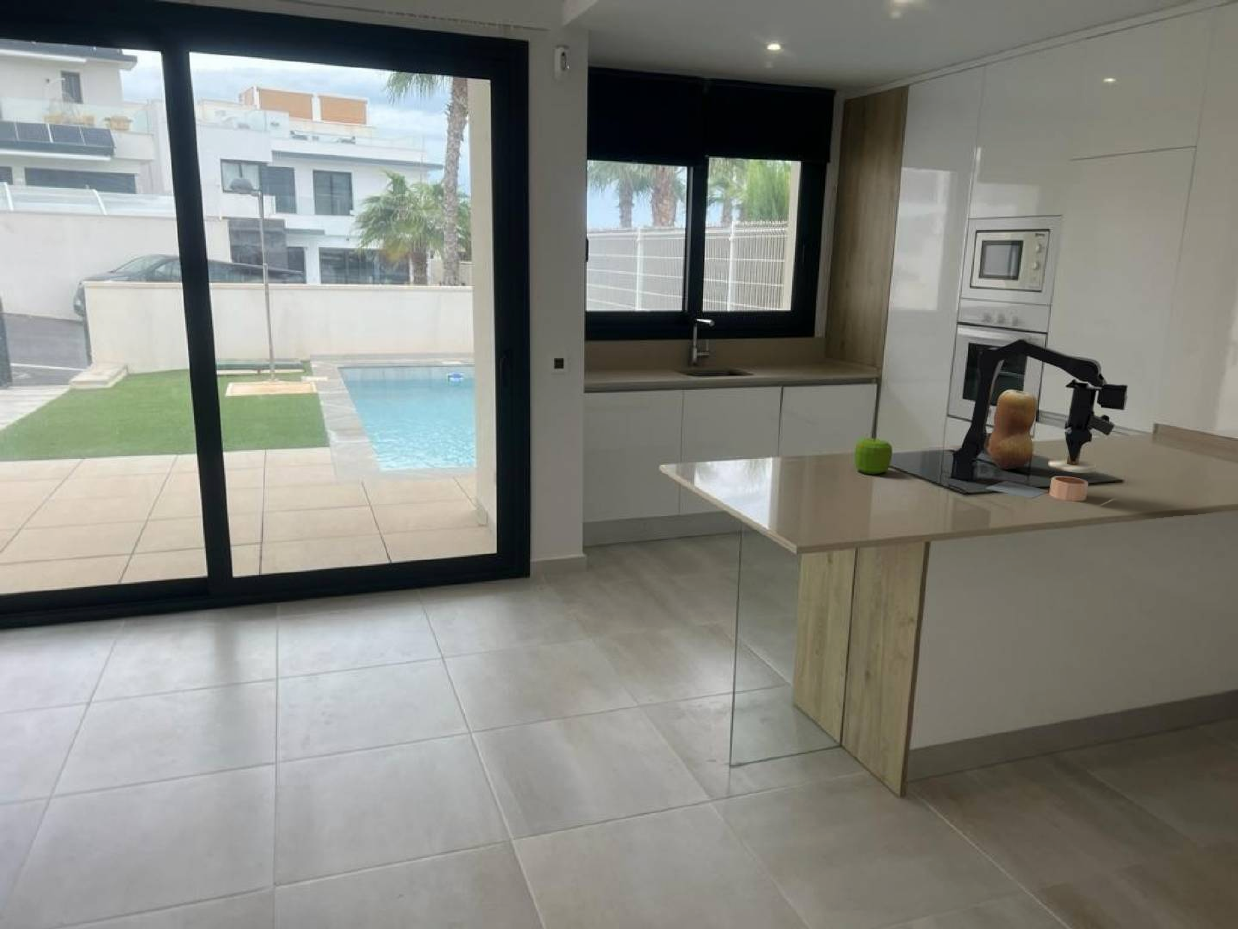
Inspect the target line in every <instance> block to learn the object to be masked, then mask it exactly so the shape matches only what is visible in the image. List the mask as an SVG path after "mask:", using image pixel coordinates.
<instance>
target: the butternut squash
mask: <svg viewBox="0 0 1238 929" xmlns="http://www.w3.org/2000/svg"><path fill="white" fill-rule="evenodd" d="M1037 406H1038V400H1037V398H1036V396H1035V395H1033V394H1032V393H1031V392H1027V391H1023V390H1021V391H1020V390H1017V389H1016V390H1015V389H1007V390H1005V391H1003V392H1002V393H1001V394H1000V395H999V397H998V399H997V404H996V407H995V410H994V412H993V413H994V415H993V428H992V431H991V432H990V433H991V437H990V439H989V445H990V446H989V447H987V448H986V450H987V453H988V455H989V456H990V458H991V460H992V461H993V463H994V464H995V465H996V467H997V468H998V469H1000V470H1005V471H1009V470H1015V469H1017V468H1020V467H1022V466H1025V465H1026V464H1028V463H1029V462H1030V460H1031V459H1032V457H1033V452H1034V451H1033V450H1034V446H1033V440H1032V437H1031V429H1032V427H1033V425H1034V422H1035V420H1036V417H1037V416H1036V415H1037V410H1038V409H1037V408H1038V407H1037Z"/></svg>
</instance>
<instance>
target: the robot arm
mask: <svg viewBox="0 0 1238 929" xmlns="http://www.w3.org/2000/svg"><path fill="white" fill-rule="evenodd" d="M1019 354H1021V355H1023V356H1026V357H1029V358H1032V359H1034V360H1037V361H1039V362H1043V363H1045V364H1047V365H1050V366H1053V367H1056V368H1058V369H1061V370H1063V371H1064V372H1066V373H1067V374H1068V375H1070V376H1072V377H1073V379H1072V380H1071V381H1070V382H1069V383H1067V384H1066V385H1065V388H1067V389H1068V388H1069V389H1072V395H1071V399H1070V400H1071V402H1070V405H1069V409H1068V410H1069V413H1068V417H1067V420H1066V421H1064V427H1063V428H1064V430H1066V431H1064V438H1065V442H1066V445H1067V446H1066V447H1067V449H1068V451H1069V455H1070V459H1071V461H1072V462H1075V461H1076V459H1077V457H1078V454H1079V452H1080V450H1081V449H1082V448H1083V445H1085V444H1087V443H1092V439H1093V434H1092V430H1093V429H1094V430H1096V431H1098V432H1099V433H1102V434H1103V435H1105V436H1107V437H1109V436H1110V434H1111V433H1112V431H1113V429H1114V427H1115V423H1113V422H1112V421H1110V416H1109V415H1106V414H1102V415H1101V416H1099V415H1095V410H1094V407H1095V401H1096V404H1098V405H1099V406H1100V408H1101V409H1102V408H1103V409H1111V410H1116V411H1117V410H1118V411H1125V408H1126V404H1127V401H1128V395H1127V394H1128V386H1129V385H1128V384H1114V383H1107V381H1106V378H1104V375H1103V374H1102V373H1101V372H1102V367H1101V364H1100V362H1099V361H1097V360H1095V359H1092V358H1088V357H1087V358H1086V357H1082V356H1076V355H1075V356H1074V355H1068V354H1066V353H1063V352H1060V351H1057V350H1055V349H1052V348H1049V347H1046V346H1044V345H1040V344H1038V343H1035V342H1033V341H1030V340H1028V339H1026V338H1019V339H1016V340H1014V341H1013V342H1010V343H1008V344H1006V345H1003V346H1001V347H999V348H998V347H990V348H987V349H984V350H982V351H981V352H980V353H979V355H978V360H977V361H978V363H977V364H978V367H977V370H978V375H979V376H978V377H979V382H978V386H977V391H976V396H975V402H974V407H973V412H972V416H971V422H970V426H969V428H968V430H967V431H966V433H965V437H964V438H963V441H962V443H961V447H960V448H959V449H957V450H956V451H954V452H953V453H952V464H951V465H952V466H951V471H950V472H951V473H950V475H949V476H948V477H947V478H948V479H952V480H956V481H959V480H960V481H959V482H964V481H965V482H964V483H970V482H974V481H977V480H978V479H979V477H978V474H979V473H978V472H979V465H978V462H979V461H978V460H976V459H977V458H978V457H979V455H981V454H983V453H984V452H985V451H986V450H987V447H989V446H990V445H989V439H990V437H991V433H992V432H987V422H988V416H989V412H990V407H991V402H992V397H993V393H994V389H995V388H994V386H995V382H996V379H997V377H998V375H999V373H1000V371H1001V369H1002V367H1003V365H1004V364H1003V363H1004V361H1005V360H1006V359H1009V358H1012V357H1013V356H1016V355H1019ZM1077 380H1078V381H1079V382H1078V381H1077ZM1080 381H1081V382H1080ZM1097 392H1098V394H1097ZM1096 395H1097V398H1096ZM1080 453H1081V452H1080Z"/></svg>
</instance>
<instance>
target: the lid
mask: <svg viewBox="0 0 1238 929" xmlns="http://www.w3.org/2000/svg"><path fill="white" fill-rule="evenodd" d="M1081 452H1082V451H1081V450H1080V452H1079V454H1078V457H1077V459H1076V461H1075V462H1072V461H1071V459H1070V455H1069V451H1068V452H1067V458H1052V459H1049V460H1048V467H1050V468H1053V469H1056V470H1060V471H1064V472H1071V473H1076V474H1077V473H1080V474H1090V473H1091V474H1092V473H1095V472H1096V471H1097V466H1096V465H1095V464H1094V463H1091V462H1090V463H1089V462H1087V461H1082V460H1080V458H1081Z"/></svg>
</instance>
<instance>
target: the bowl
mask: <svg viewBox="0 0 1238 929" xmlns="http://www.w3.org/2000/svg"><path fill="white" fill-rule="evenodd" d="M1050 481H1051V482H1050V486H1049V492H1048V493H1049V495H1050V496H1051V497H1053V498H1056V499H1060V500H1064V501H1073V502H1081V501H1082V502H1083V501H1086V500H1087V494H1088V488H1089V482H1088V481H1087V480H1085V479H1083V478H1079V477H1078V478H1077V477H1073V476H1066V475H1063V476H1062V475H1060V476H1059V475H1056V476H1053V477H1051V480H1050Z"/></svg>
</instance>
